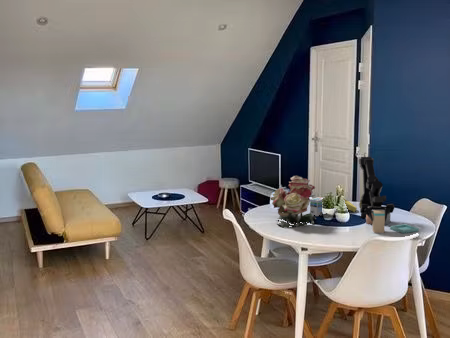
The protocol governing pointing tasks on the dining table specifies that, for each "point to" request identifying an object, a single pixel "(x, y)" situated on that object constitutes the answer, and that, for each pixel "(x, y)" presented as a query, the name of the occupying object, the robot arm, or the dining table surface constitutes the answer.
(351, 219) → the dining table surface
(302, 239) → the dining table surface
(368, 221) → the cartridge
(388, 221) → the grey box
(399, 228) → the tray
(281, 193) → the rose bouquet
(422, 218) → the dining table surface
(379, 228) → the carton
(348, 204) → the plastic component
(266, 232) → the dining table surface
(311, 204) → the light bulb box
